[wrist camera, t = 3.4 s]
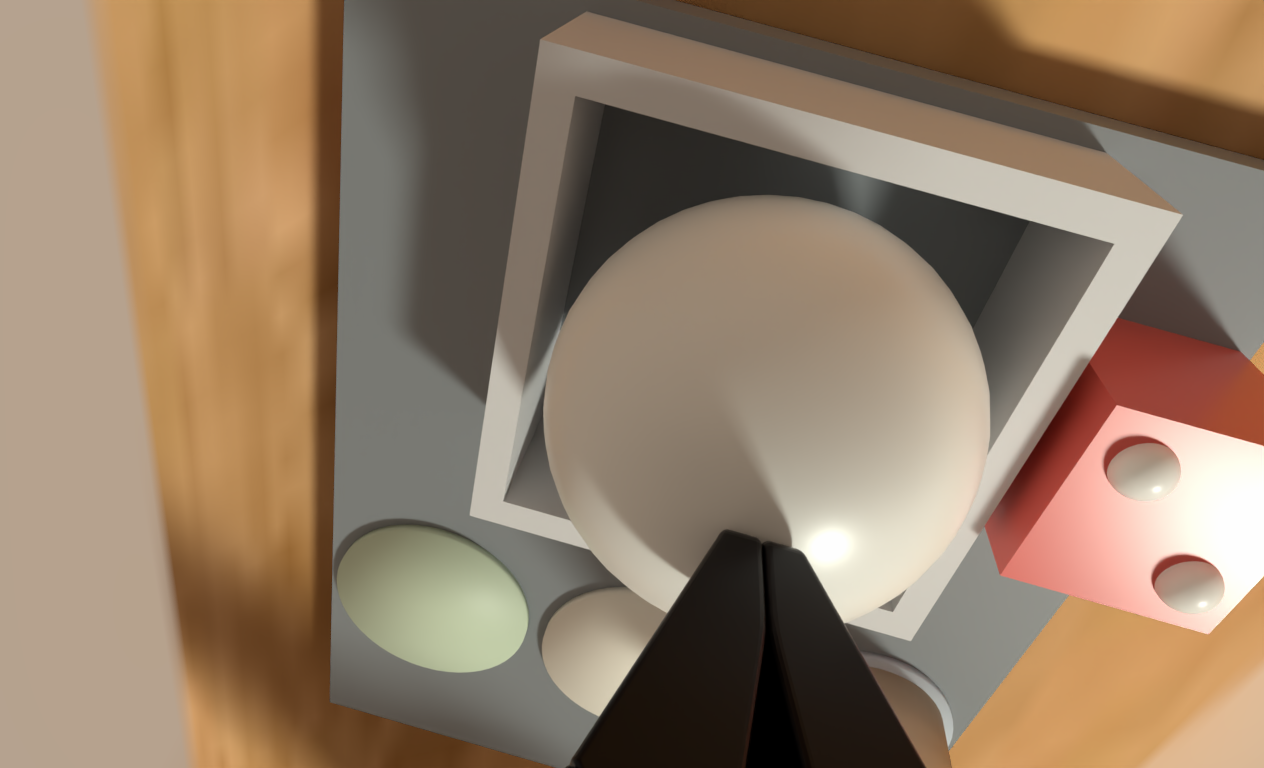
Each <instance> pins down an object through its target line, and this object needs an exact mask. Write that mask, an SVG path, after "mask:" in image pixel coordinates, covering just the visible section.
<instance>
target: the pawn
mask: <svg viewBox="0 0 1264 768" xmlns="http://www.w3.org/2000/svg"><path fill="white" fill-rule="evenodd" d="M869 668H870V669H871V671H872V673H873V675H874V676H875V678H876V680H877V682H878V683H879V685H880V687H881V689H882V690H883V692H884V694H885V696H886V698H887V699H888V701H889V703H890V705H891V706H892V708H893V710H894V712H895V713H896V715H897V717H898V719H899V720H900V722H901V724H902V726H903V727H904V729H905V731H906V733H907V734H908V736H909V738H910V740H911V741H912V743H913V745H914V747H915V748H916V750H917V752H918V754H919V755H920V757H921V759H922V761H923V762H924V764H925V766H926V768H952V766H951V761H950V755H949V750H948V745H947V740H946V734H945V729H944V724H943V719H942V716H941V713H940V710H939V709H938V707H937V705H936V704H935V702H934V701H933V700H932V699H931V697H930V696H929V695H928V694H927V693H926V692H925V691H923V690H922V689H921V688H920V687H918V686H917V685H915V684H914V683H912V682H911V681H909V680H907V679H905V678H903V677H901V676H899V675H896V674H894V673H891V672H888V671H885V670H882V669H878V668H873V667H869Z"/></svg>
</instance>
